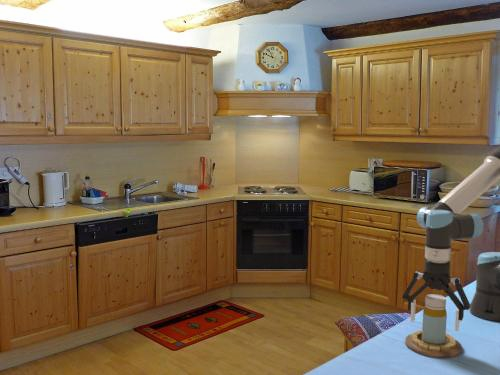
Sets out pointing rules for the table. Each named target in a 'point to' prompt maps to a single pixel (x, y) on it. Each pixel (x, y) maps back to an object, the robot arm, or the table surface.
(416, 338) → the ring tray
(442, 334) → the bottle
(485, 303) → the robot arm
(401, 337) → the table surface
